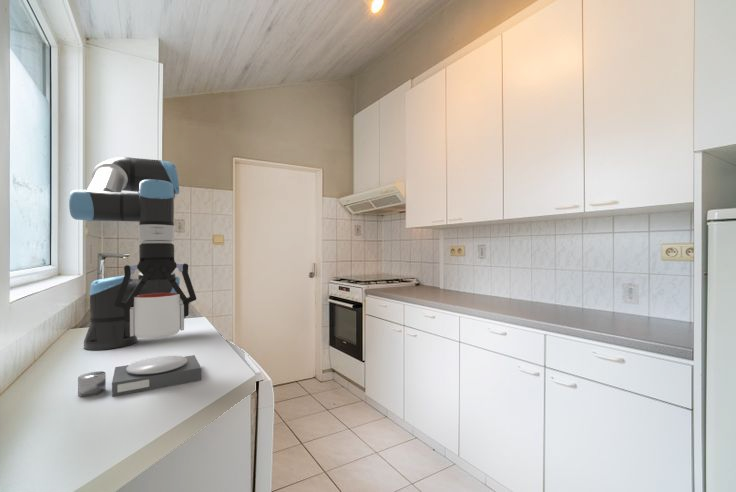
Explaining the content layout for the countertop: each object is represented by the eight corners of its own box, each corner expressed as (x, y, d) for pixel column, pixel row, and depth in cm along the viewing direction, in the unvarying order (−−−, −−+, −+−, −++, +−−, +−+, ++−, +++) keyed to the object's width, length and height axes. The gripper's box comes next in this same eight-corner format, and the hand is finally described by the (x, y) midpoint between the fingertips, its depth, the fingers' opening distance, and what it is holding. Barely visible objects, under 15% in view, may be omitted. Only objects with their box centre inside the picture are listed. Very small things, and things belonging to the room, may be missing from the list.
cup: (188, 331, 94) (188, 292, 95) (163, 340, 84) (163, 297, 85) (152, 330, 95) (152, 292, 96) (123, 340, 85) (123, 297, 86)
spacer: (79, 391, 83) (79, 374, 83) (106, 387, 86) (106, 370, 86) (76, 399, 79) (76, 380, 79) (104, 394, 81) (104, 376, 81)
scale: (115, 379, 91) (115, 363, 91) (194, 365, 100) (194, 351, 100) (111, 397, 79) (111, 378, 79) (201, 380, 89) (201, 364, 89)
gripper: (99, 242, 81) (99, 342, 81) (208, 242, 93) (209, 329, 93) (102, 243, 87) (102, 335, 87) (204, 243, 99) (204, 324, 99)
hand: (157, 332), depth 90 cm, fingers closed on cup, 10 cm apart
